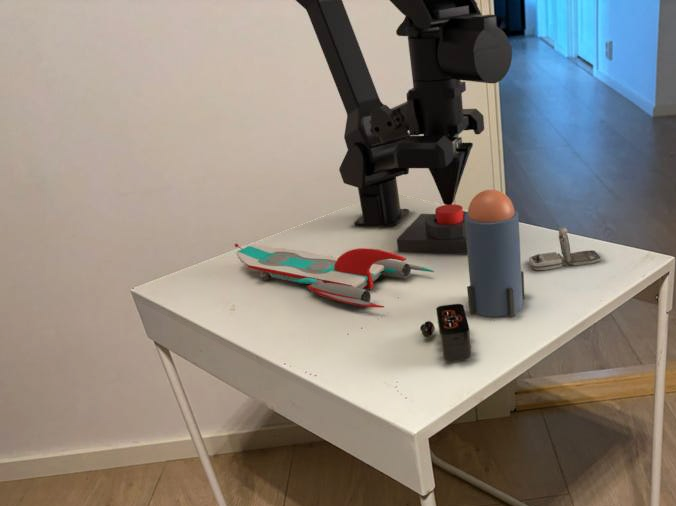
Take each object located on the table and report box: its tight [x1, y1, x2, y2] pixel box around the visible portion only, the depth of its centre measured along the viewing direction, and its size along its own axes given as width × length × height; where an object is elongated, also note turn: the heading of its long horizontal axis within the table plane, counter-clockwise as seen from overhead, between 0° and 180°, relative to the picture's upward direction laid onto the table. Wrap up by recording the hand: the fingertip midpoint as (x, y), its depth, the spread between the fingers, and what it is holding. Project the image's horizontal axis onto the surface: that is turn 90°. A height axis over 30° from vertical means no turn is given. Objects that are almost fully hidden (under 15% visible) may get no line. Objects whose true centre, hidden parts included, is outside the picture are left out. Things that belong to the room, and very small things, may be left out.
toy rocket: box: [464, 189, 526, 318], centre depth 76 cm, size 7×7×13 cm
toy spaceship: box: [234, 243, 435, 309], centre depth 88 cm, size 27×11×5 cm, turn 64°
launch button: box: [435, 203, 464, 225], centre depth 94 cm, size 4×4×2 cm
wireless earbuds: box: [419, 303, 472, 363], centre depth 71 cm, size 5×7×3 cm, turn 7°
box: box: [396, 210, 468, 255], centre depth 97 cm, size 10×10×4 cm
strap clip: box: [528, 227, 601, 271], centre depth 87 cm, size 8×3×4 cm, turn 100°
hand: (448, 203), depth 93 cm, fingers closed
